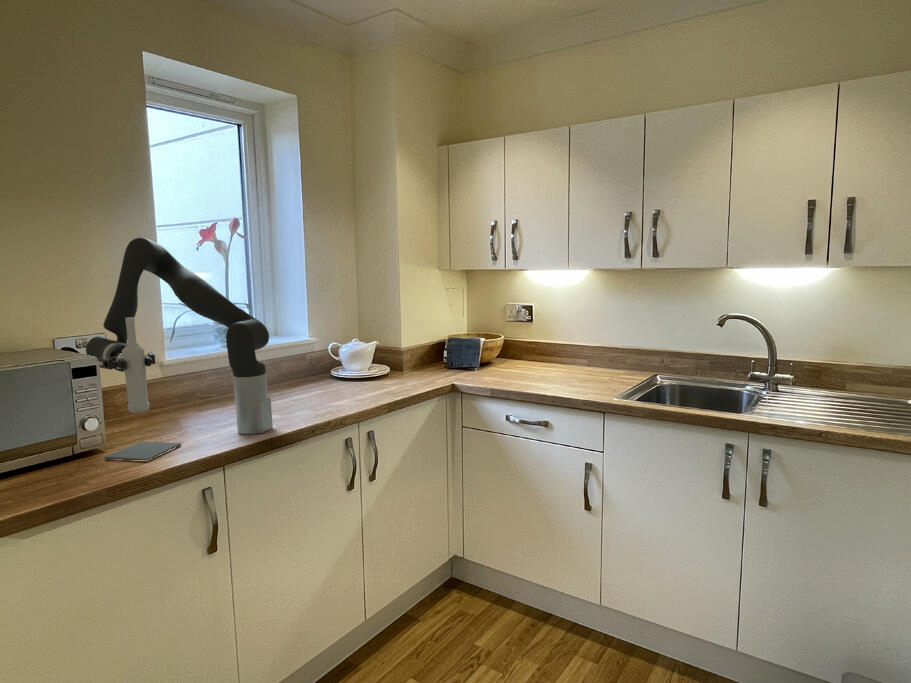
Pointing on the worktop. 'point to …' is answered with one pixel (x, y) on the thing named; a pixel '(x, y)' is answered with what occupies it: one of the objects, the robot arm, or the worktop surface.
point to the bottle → (135, 371)
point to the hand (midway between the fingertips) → (137, 363)
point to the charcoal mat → (142, 451)
